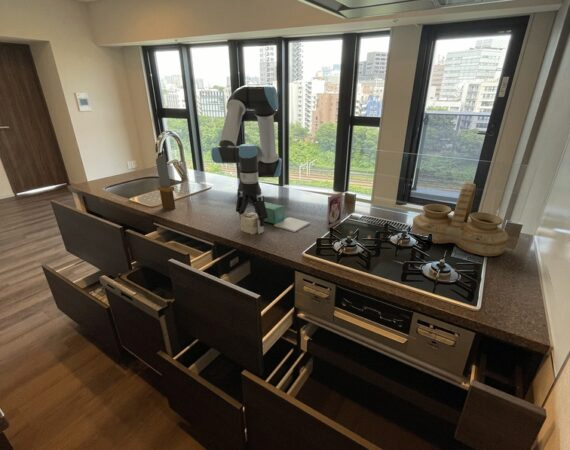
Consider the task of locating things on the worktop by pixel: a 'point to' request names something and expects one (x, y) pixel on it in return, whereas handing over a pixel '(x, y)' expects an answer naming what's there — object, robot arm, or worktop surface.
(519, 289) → the worktop surface
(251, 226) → the letter cube
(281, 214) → the box
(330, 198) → the greeting card
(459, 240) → the ceramic vessel
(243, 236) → the worktop surface
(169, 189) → the knife
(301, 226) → the tile
